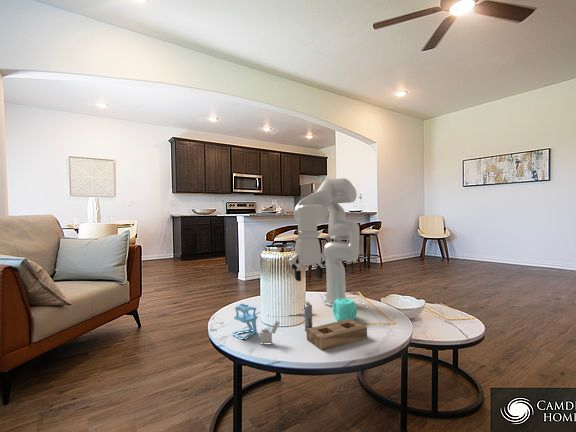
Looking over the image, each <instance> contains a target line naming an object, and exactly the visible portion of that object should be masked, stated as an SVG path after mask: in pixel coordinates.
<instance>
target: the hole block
mask: <svg viewBox="0 0 576 432" xmlns="http://www.w3.org/2000/svg"><path fill="white" fill-rule="evenodd" d="M367 338H368V327H367V326H366V325H364V324H361V323H359V322H357V321H356V320H351V319H347V320H343V321H335V322H331V323H326V324H321V325H317V326H314V327H312V328H308V329H307V332H306V340H307V341H308V342H309V343H311V344H312V345H314V347H316V348H318V349H320V350H321V351H325V350H327V349H331V348H335V347H339V346H342V345H346V344H350V343H353V342H357V341H360V340H364V339H367Z"/></svg>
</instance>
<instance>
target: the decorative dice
mask: <svg viewBox="0 0 576 432" xmlns="http://www.w3.org/2000/svg"><path fill="white" fill-rule="evenodd" d="M332 313H333V316H334V319H335V320H336V322H338V321H343V320H347V319H351V320H353V321H355V319H356V317H357V315H358V311H357V305H356V302H355V301H354V300H353V299H351V298H341V299H337V300H335V302H334V303H333V306H332Z"/></svg>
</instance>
